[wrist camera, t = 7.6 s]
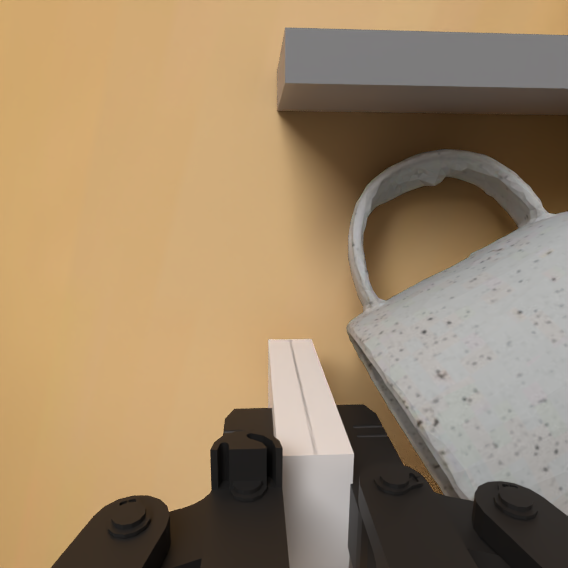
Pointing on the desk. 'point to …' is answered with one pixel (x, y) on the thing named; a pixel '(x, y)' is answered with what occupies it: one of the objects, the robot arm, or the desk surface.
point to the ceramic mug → (474, 338)
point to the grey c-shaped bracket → (422, 73)
